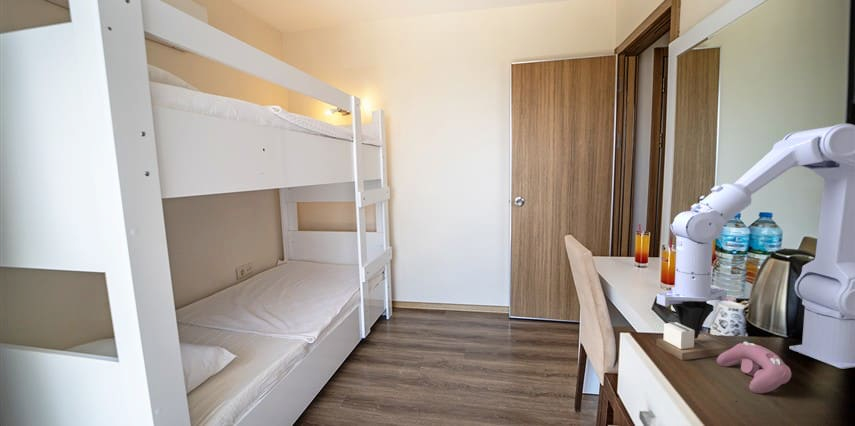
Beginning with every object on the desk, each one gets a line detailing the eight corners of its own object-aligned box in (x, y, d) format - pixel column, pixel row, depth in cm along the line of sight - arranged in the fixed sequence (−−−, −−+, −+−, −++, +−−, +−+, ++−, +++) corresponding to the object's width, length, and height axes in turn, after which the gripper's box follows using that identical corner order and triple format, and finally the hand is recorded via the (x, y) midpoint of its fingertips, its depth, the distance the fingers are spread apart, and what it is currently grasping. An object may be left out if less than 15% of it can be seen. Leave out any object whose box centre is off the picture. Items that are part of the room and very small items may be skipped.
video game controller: (779, 406, 55) (805, 370, 53) (750, 391, 55) (775, 356, 54) (736, 372, 64) (757, 341, 63) (712, 360, 65) (732, 329, 64)
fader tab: (675, 338, 71) (676, 321, 71) (693, 347, 67) (694, 329, 67) (663, 339, 71) (664, 322, 71) (680, 349, 67) (681, 330, 67)
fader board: (708, 339, 74) (708, 332, 74) (737, 352, 68) (738, 345, 68) (656, 345, 72) (656, 338, 72) (682, 360, 66) (682, 352, 66)
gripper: (704, 264, 74) (701, 325, 75) (645, 268, 71) (643, 331, 72) (739, 272, 67) (735, 339, 68) (675, 277, 64) (672, 347, 65)
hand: (690, 336), depth 70 cm, fingers closed
